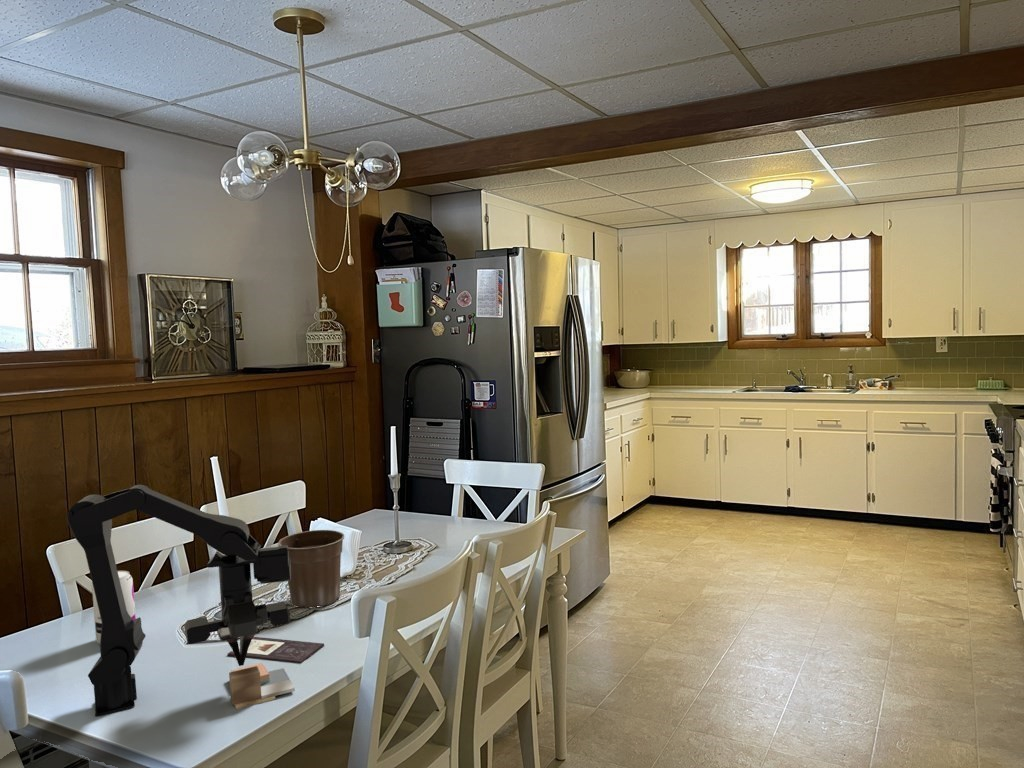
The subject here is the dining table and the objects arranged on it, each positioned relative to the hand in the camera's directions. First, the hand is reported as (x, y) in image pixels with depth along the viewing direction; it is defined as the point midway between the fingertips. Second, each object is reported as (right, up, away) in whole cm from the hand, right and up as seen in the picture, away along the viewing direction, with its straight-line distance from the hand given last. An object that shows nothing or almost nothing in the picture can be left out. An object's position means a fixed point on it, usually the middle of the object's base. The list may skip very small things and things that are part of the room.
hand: (241, 665), depth 149 cm
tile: (-2, -3, +1) cm, 4 cm away
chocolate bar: (+2, -4, +17) cm, 18 cm away
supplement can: (-37, -4, +26) cm, 46 cm away
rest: (+4, -5, -4) cm, 8 cm away
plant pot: (+2, -1, +47) cm, 47 cm away
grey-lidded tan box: (+5, -4, -4) cm, 8 cm away
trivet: (+4, -4, +2) cm, 6 cm away
